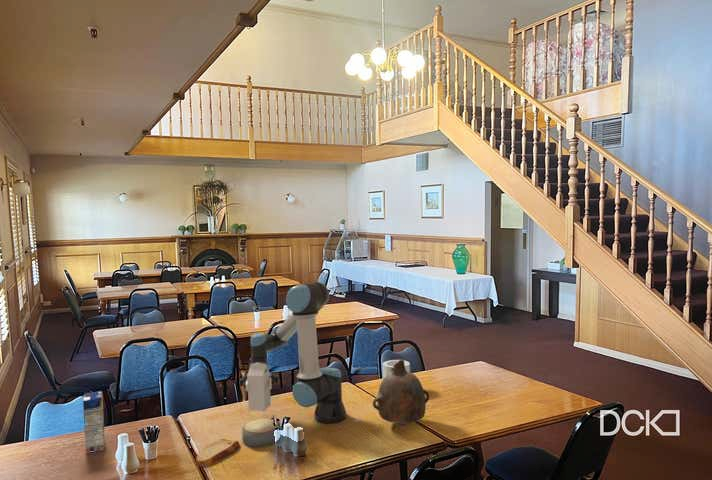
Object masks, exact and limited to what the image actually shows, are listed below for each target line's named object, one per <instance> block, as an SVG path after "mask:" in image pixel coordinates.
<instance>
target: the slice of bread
mask: <svg viewBox="0 0 712 480" xmlns="http://www.w3.org/2000/svg"><path fill="white" fill-rule="evenodd" d="M239 446H240V441H238V440H231V439H226V438H225V439H224V438H222V439H221V438H220V439H218V440H215V441H213V442H211V443H210V444H208V445H207V446H205V447H203V448H202V449H201V451H200V452H199V453H198V454H197V456H196V458H195V465H196V467H197V466H198V467H200V468H206V467H209V466H210V465H213V464H215V463H216V462H219V461H220V460H222V459H223V458H226V457H227V456H228V455H230V454H231V453H233V451H235V450H236V449H237V448H238V447H239ZM208 465H209V466H208Z"/></svg>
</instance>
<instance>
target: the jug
mask: <svg viewBox="0 0 712 480" xmlns="http://www.w3.org/2000/svg"><path fill="white" fill-rule="evenodd" d="M398 360H399V361H398V362H397V363H395V364H394V368H392V369H391V373H389V374H387V375H386V376H385V377H384V379H383V378H382V380H381V382H380V385H379V386H378V387H379V388H378V394H377V396H376V397H375V398H374V399H373V400H372V406H373V408H374V409H375V410H377V412H378V414H379V416H380V418H381V419H382V420H385V421H386V422H389V423H394V424H398V425H399V426H405V425H407V424H411V423H414V422H418V421H421V420H422V419H424V417H425V413H426V405H427V403H428V401H429V400H430V395H429V392H428V391H427V390H426V389H424V387H423V385H422V383H421V381H420V379H419V378H418V377H417V376H416V375H415V374H414V373H412V372H411V371H410V372H409V371H406V369H405V365H404V361H405V360H404V359H398ZM425 395H426V397H425Z"/></svg>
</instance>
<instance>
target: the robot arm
mask: <svg viewBox="0 0 712 480" xmlns="http://www.w3.org/2000/svg"><path fill="white" fill-rule="evenodd" d="M286 294H287V295H286V299H285V301H286V306H287V307H288V309H289V311H290V312H292V313H291V314H290V315H289V316H288V318H286V319H285V320H284V322H282V323H281V324H280V326H279V327H278V328H277V329H276V330H275V331H274V332H273V333H271V334H266V333H264V332H263V333H262V332H259V333H254V334H252V335H251V336H250V350H251V351H250V352H251V354H250V355H251V364H266V367H267V369H268V367H269V362H268V352H271V351H273V350H277V349H279V348H283V347H285V346H287V345H288V343H289V341H290V338H291V337H292V336H293V335H294V334H295V333H296V335H297V350H298V362H299V366H298V367H299V372H298V373H297V375H296V383H294V385H293V386H292V390H291V391H292V397H293V399H294V401H295V402H296V403H297V404H298V406H300V407H303V408H310V407H313V406H315V405H316V407H315V410H314V413H313V414H314V415H313V418H314V421H315V422H318V423H322V424H333V423H339V422H342V421H344V420H345V419H346V418H347V411H346V408H345V405H344V402H343V394H342V393H343V391H342V390H343V389H342V387H343V386H342V372H341V370H340V369H339V368H335V367H320V366H319V352H318V351H319V350H318V337H317V335H318V334H317V324H316V323H317V321H316V317H317V316H318V315H319V311H321V310H322V308H323V307H324V306H325V305H327V304H328V301H329V299H330V292H329V288H328V287H327V285H326V284H324V283H323V282H319V281H313V282H308V283H303V284H302V283H300V284H298V285H295V286H294V285H293V287H291V288H290V289H289V290H288V292H287V293H286ZM268 370H269V369H268ZM247 375H248V373H245V374H243V375H242V377H241V378H240V379H239V387H243V389H245V392H248V380H247ZM269 380H270V390H272V388H273V387H272V385H273V386H274V385H275V383H276V384H278V383H279V377H278V375H277V374H276V372H275V371H271V372H269Z"/></svg>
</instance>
